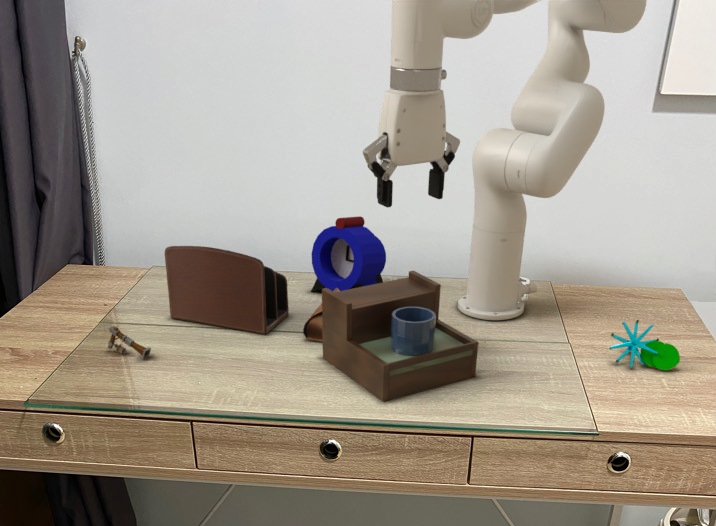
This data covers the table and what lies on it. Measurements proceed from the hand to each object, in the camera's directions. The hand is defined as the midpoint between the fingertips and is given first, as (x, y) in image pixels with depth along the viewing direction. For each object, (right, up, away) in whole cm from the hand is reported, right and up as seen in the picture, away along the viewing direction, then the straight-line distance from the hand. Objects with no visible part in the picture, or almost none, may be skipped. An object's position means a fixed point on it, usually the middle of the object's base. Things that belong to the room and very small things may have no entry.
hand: (410, 201), depth 137 cm
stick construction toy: (+40, -24, +10) cm, 47 cm away
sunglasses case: (-12, -14, +22) cm, 29 cm away
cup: (0, -23, +1) cm, 23 cm away
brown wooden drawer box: (-2, -25, +7) cm, 26 cm away
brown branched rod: (-47, -23, +10) cm, 53 cm away
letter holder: (-32, -13, +24) cm, 42 cm away
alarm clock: (-10, -4, +36) cm, 38 cm away
